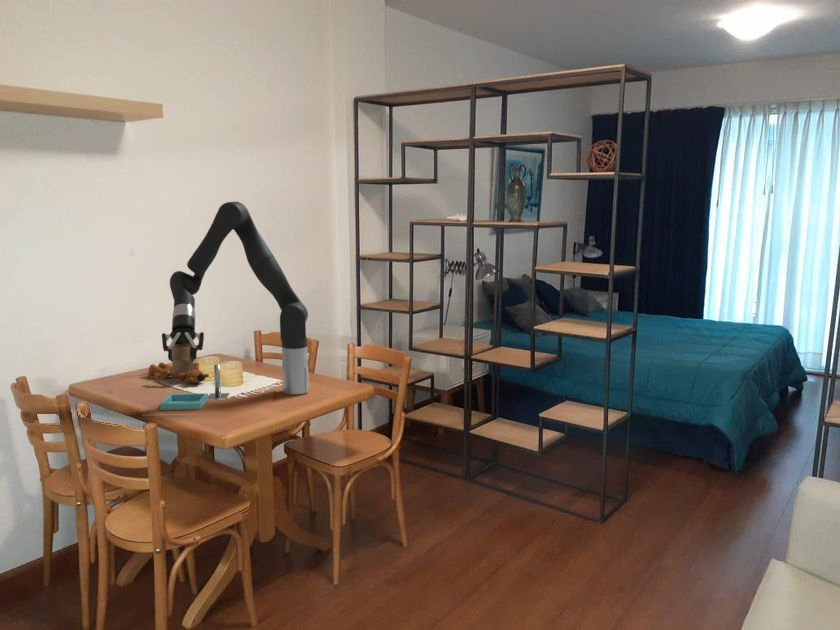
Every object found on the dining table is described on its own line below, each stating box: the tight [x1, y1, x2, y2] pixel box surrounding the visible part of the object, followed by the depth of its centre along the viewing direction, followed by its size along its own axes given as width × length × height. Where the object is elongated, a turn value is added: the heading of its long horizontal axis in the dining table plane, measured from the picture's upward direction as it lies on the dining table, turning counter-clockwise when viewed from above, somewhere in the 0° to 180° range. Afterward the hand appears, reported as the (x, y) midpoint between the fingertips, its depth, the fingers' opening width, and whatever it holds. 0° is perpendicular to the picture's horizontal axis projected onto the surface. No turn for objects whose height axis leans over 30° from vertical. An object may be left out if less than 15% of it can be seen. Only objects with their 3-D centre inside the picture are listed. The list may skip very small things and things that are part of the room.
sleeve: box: [171, 344, 195, 373], centre depth 222 cm, size 6×6×9 cm
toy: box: [147, 362, 210, 386], centre depth 257 cm, size 20×7×30 cm
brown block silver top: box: [208, 363, 230, 400], centre depth 234 cm, size 7×7×12 cm
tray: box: [159, 392, 209, 411], centre depth 224 cm, size 13×12×3 cm
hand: (182, 359), depth 220 cm, fingers closed on sleeve, 6 cm apart
